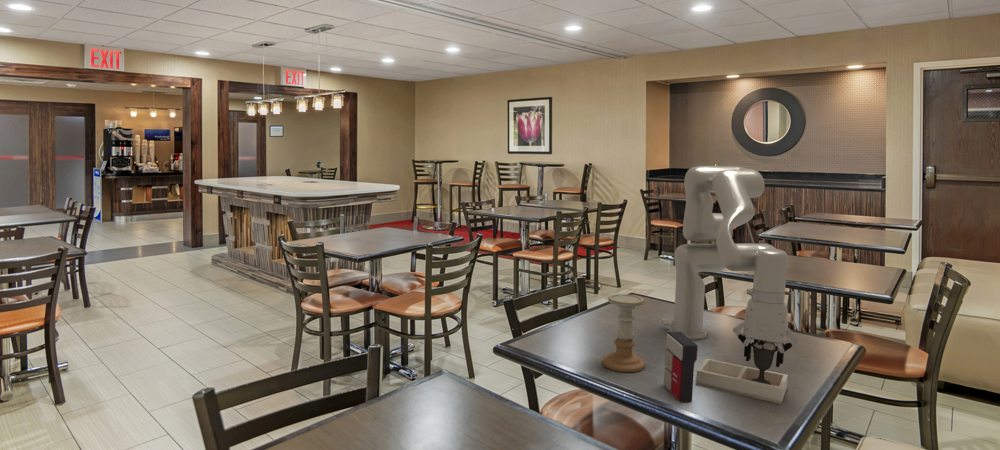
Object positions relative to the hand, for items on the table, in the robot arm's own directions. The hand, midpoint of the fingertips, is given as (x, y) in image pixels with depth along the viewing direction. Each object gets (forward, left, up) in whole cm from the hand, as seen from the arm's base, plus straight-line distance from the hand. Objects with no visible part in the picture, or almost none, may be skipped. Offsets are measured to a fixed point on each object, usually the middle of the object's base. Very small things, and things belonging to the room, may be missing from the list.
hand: (762, 362), depth 149 cm
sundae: (0, 0, -6) cm, 6 cm away
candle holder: (-37, -3, -8) cm, 38 cm away
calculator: (-18, -14, -8) cm, 24 cm away
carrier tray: (-5, 0, -8) cm, 9 cm away
